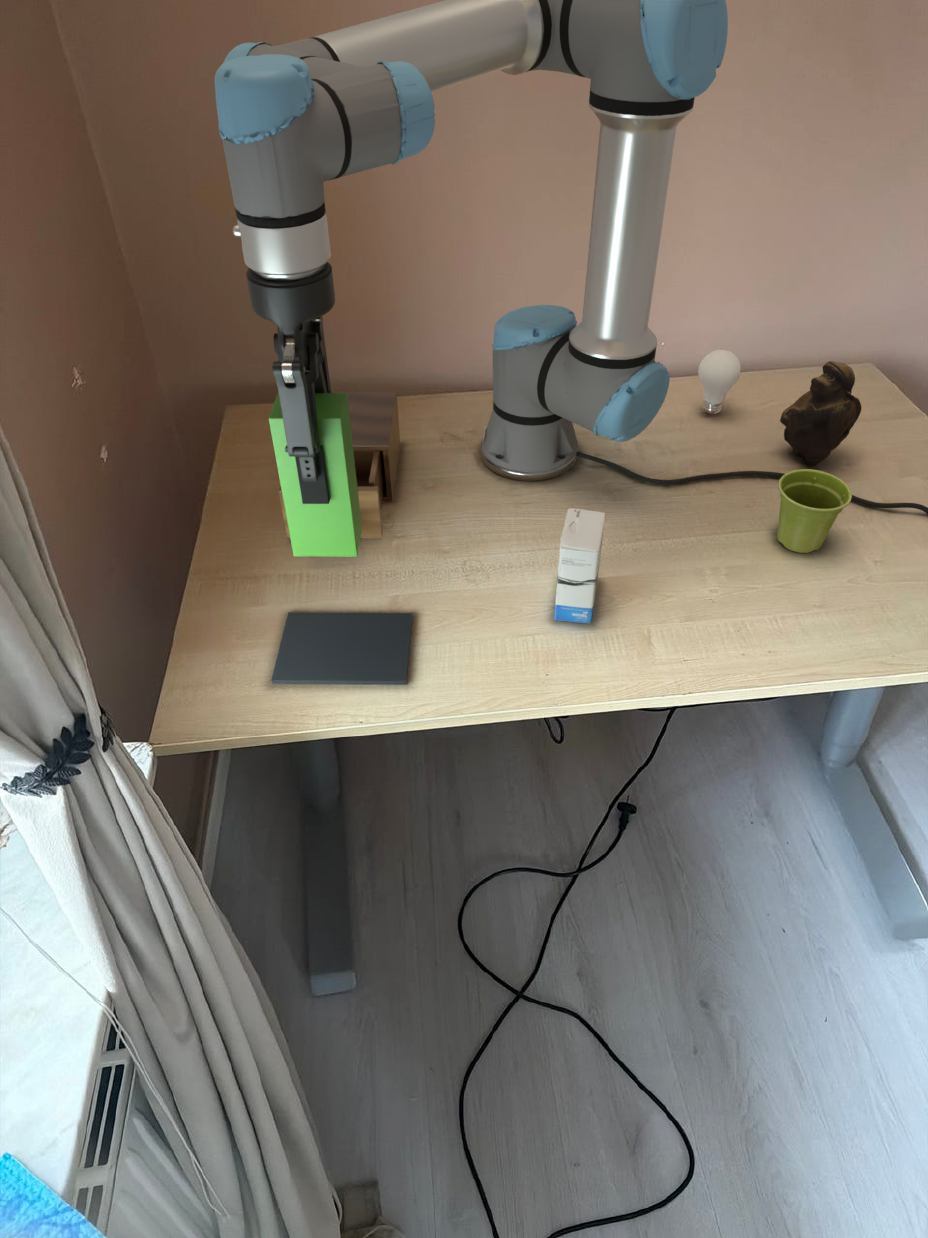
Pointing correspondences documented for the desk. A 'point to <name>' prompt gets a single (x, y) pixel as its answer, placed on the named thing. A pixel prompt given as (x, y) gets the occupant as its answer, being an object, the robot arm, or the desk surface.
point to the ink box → (579, 565)
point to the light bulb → (718, 378)
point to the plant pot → (809, 508)
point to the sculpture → (822, 414)
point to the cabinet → (376, 430)
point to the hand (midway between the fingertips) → (320, 485)
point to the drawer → (364, 492)
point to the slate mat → (344, 648)
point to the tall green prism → (340, 520)
